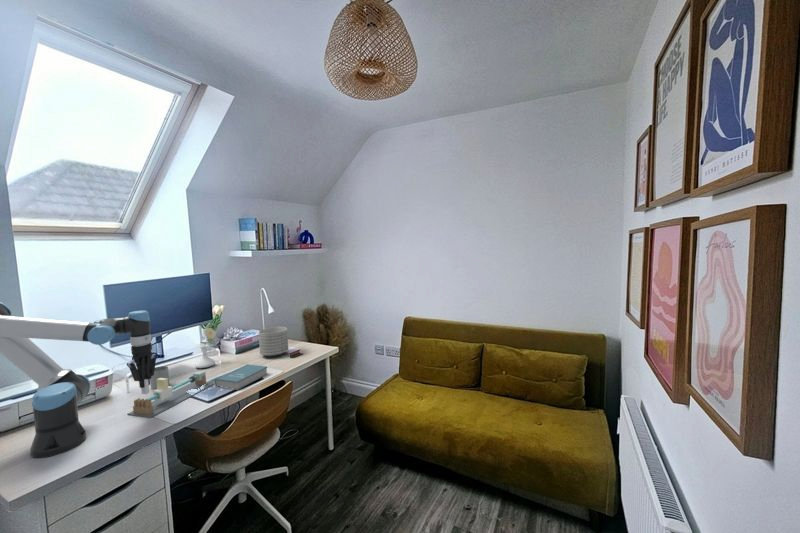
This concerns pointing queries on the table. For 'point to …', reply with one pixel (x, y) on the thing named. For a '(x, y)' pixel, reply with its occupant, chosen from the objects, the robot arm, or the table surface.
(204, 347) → the flower in vase
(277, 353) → the planter
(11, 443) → the table surface
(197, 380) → the cord rig
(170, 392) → the sliding rod collar
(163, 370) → the cup
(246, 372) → the book
